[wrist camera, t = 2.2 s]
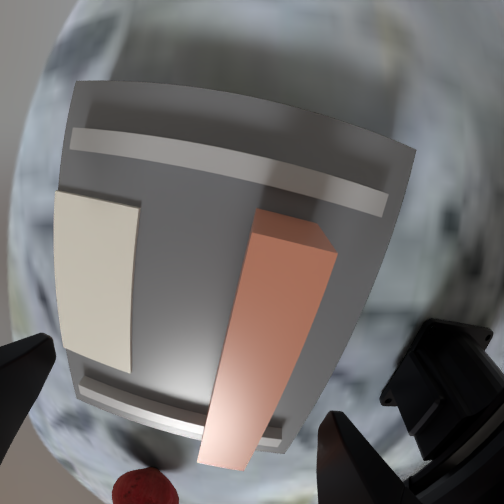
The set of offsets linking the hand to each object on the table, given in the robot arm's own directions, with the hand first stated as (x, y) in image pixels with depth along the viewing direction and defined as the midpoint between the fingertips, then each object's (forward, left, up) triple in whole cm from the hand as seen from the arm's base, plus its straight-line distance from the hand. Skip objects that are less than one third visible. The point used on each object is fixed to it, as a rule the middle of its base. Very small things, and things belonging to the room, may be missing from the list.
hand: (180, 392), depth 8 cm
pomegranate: (+3, +20, -7) cm, 21 cm away
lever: (-2, 0, -3) cm, 4 cm away
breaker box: (+1, 0, -6) cm, 6 cm away
